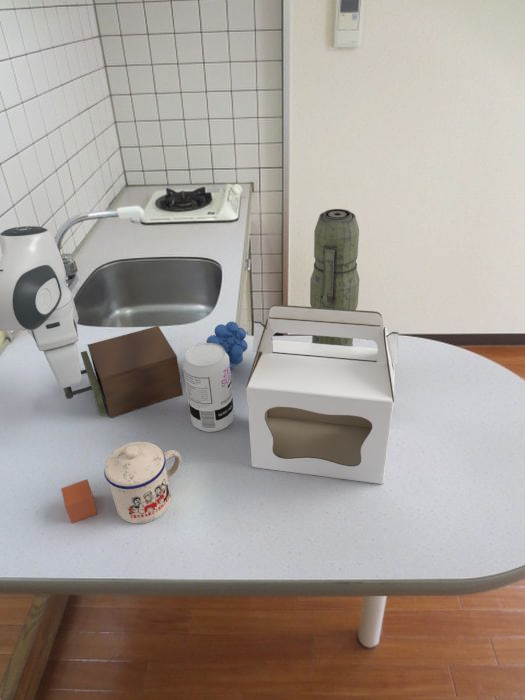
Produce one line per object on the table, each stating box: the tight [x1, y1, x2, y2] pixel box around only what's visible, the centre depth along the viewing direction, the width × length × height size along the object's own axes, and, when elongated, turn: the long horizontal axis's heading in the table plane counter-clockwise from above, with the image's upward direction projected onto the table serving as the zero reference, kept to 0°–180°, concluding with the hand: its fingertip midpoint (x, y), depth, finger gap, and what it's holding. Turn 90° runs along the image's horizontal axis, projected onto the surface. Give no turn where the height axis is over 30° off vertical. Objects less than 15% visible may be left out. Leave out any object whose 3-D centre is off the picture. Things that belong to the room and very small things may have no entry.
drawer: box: [62, 350, 107, 416], centre depth 104 cm, size 18×11×8 cm, turn 116°
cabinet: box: [87, 325, 184, 418], centre depth 105 cm, size 15×13×10 cm
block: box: [61, 479, 98, 524], centre depth 82 cm, size 4×4×4 cm
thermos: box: [309, 208, 360, 347], centre depth 98 cm, size 9×12×35 cm
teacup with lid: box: [103, 441, 182, 524], centre depth 81 cm, size 12×9×12 cm
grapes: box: [205, 320, 248, 372], centre depth 108 cm, size 12×7×12 cm, turn 140°
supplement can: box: [182, 342, 236, 433], centre depth 95 cm, size 8×8×15 cm
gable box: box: [245, 304, 399, 485], centre depth 84 cm, size 22×13×28 cm, turn 78°
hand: (70, 378), depth 100 cm, fingers closed
